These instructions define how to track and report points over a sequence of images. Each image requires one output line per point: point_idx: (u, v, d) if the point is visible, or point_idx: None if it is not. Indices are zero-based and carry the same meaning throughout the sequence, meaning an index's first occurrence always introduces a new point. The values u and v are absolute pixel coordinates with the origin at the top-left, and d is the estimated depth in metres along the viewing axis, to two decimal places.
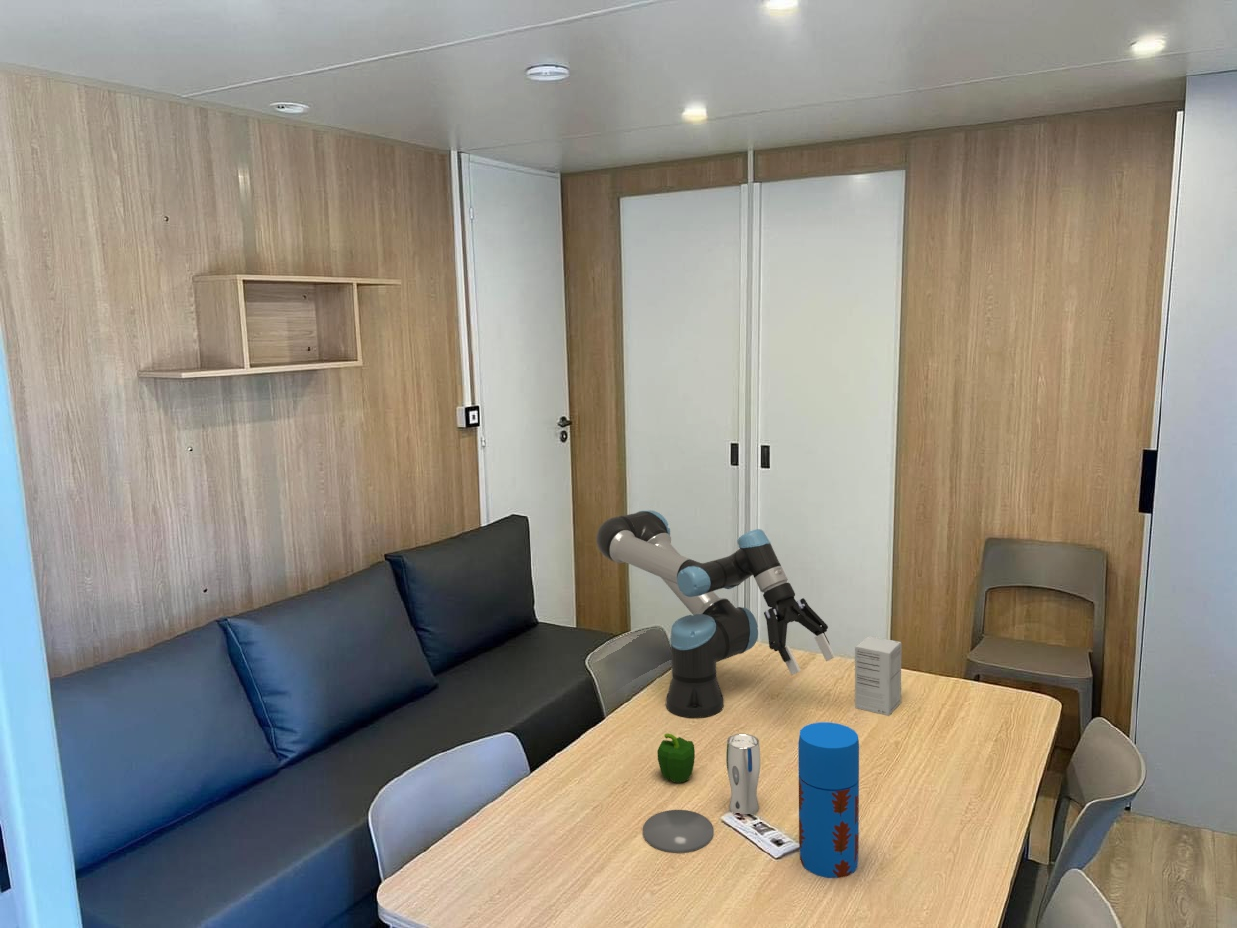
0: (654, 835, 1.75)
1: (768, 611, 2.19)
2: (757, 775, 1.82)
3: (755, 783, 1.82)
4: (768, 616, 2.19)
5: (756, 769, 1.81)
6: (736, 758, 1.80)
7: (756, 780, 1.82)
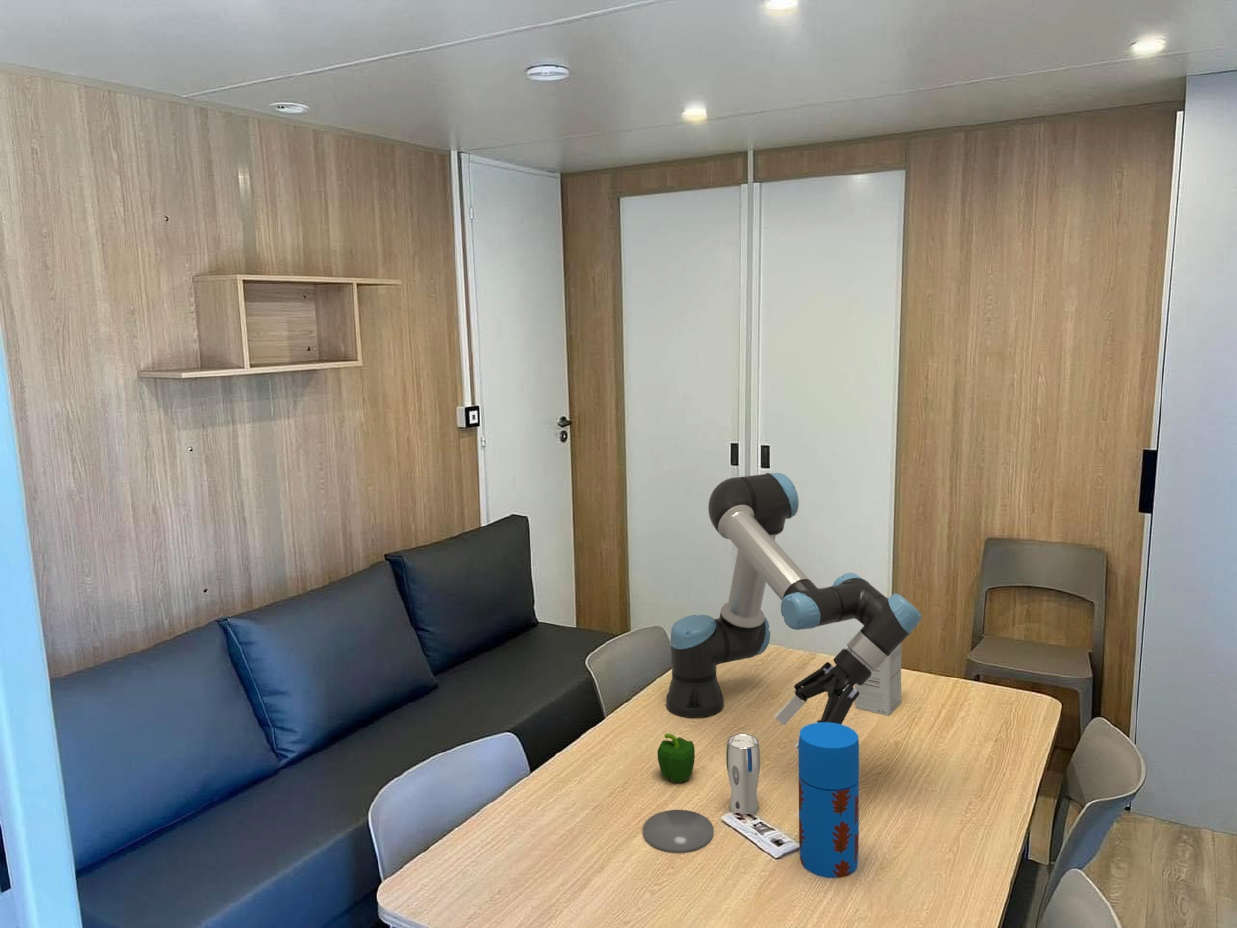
0: (654, 835, 1.75)
1: (856, 693, 1.76)
2: (757, 775, 1.82)
3: (755, 783, 1.82)
4: (850, 695, 1.76)
5: (756, 769, 1.81)
6: (736, 758, 1.80)
7: (756, 780, 1.82)
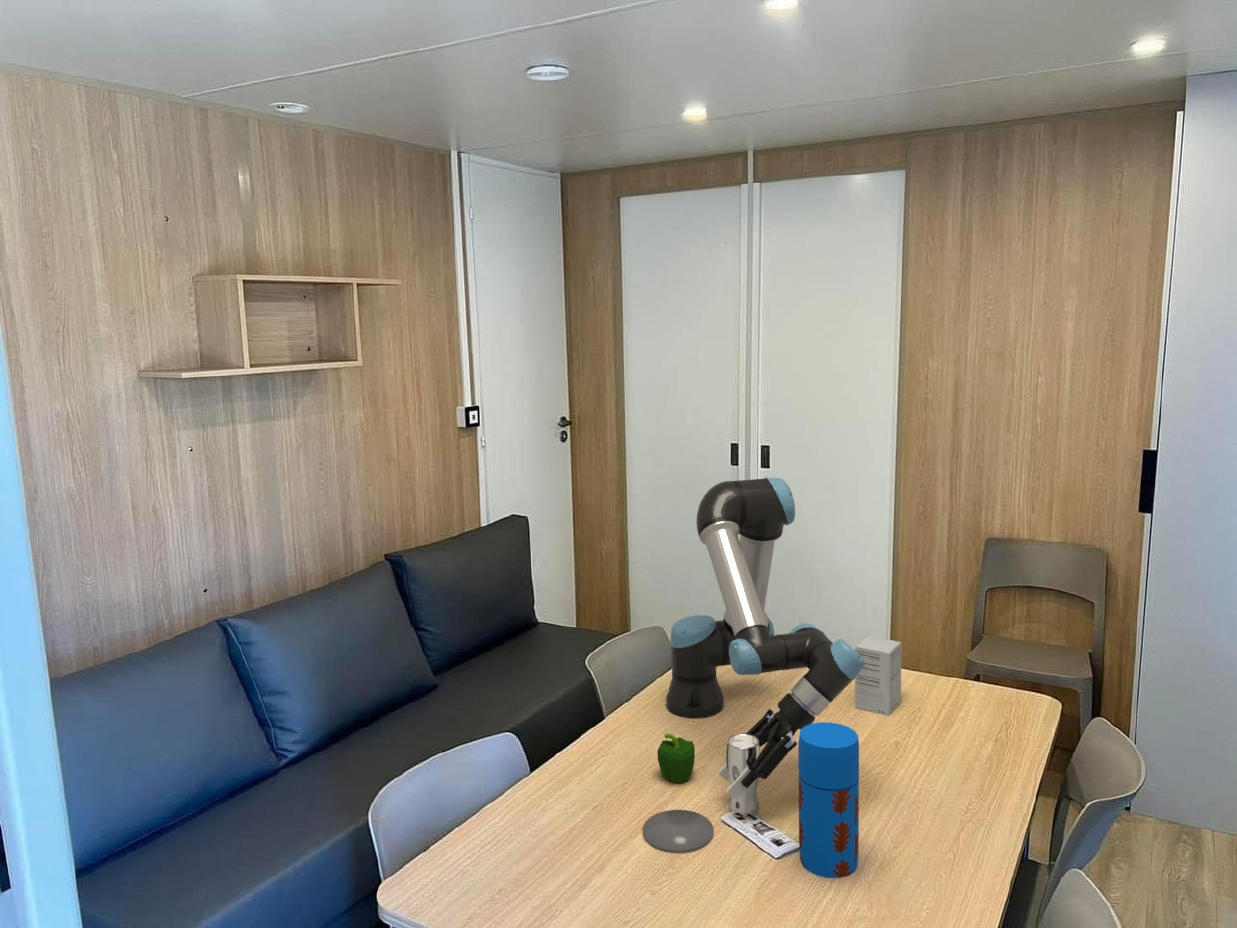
0: (654, 835, 1.75)
1: (792, 744, 1.77)
2: None
3: (755, 783, 1.82)
4: (786, 745, 1.77)
5: None
6: (736, 758, 1.80)
7: (756, 780, 1.82)
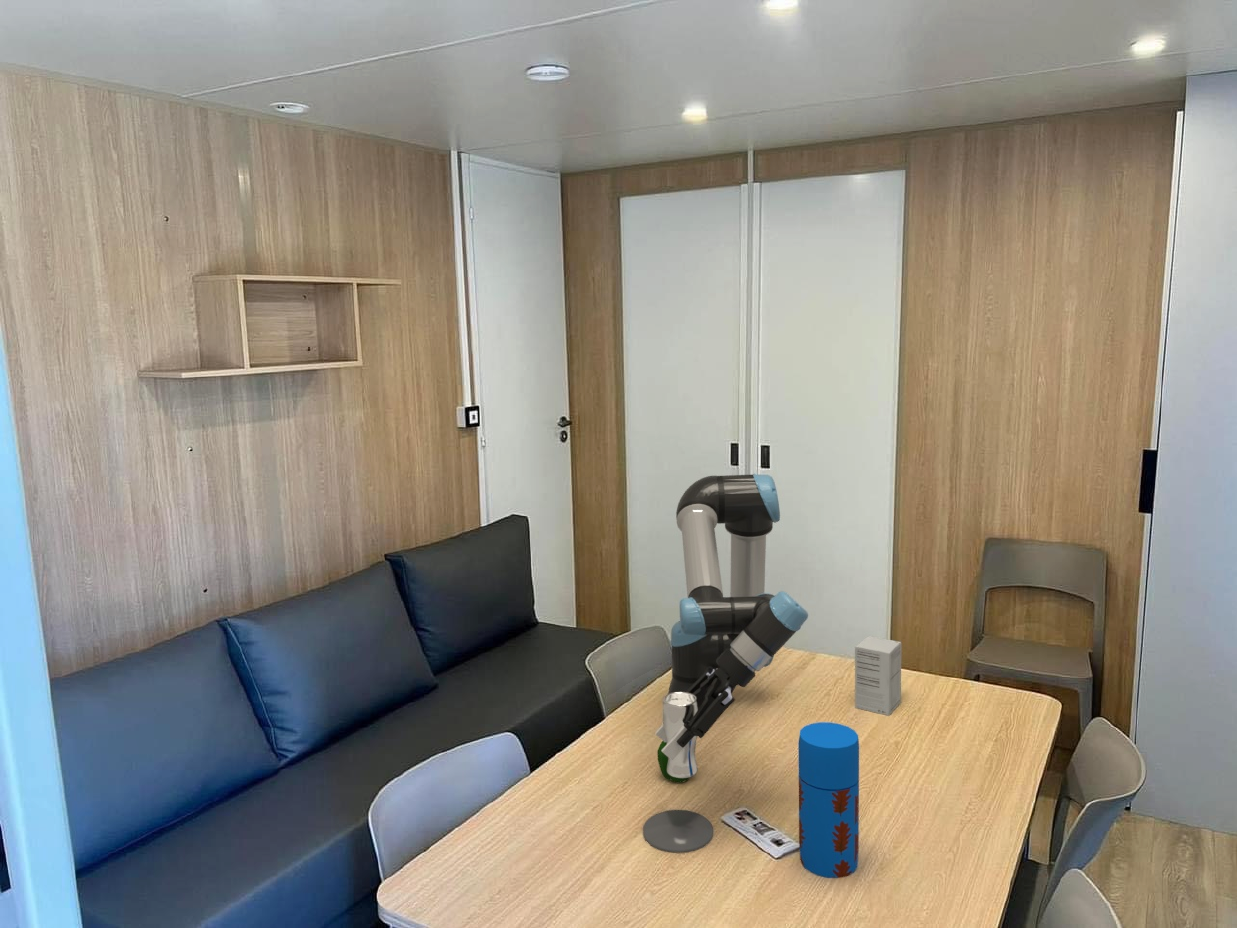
0: (654, 835, 1.75)
1: (730, 700, 1.67)
2: None
3: (693, 743, 1.72)
4: (724, 702, 1.67)
5: None
6: (672, 716, 1.71)
7: (694, 740, 1.72)
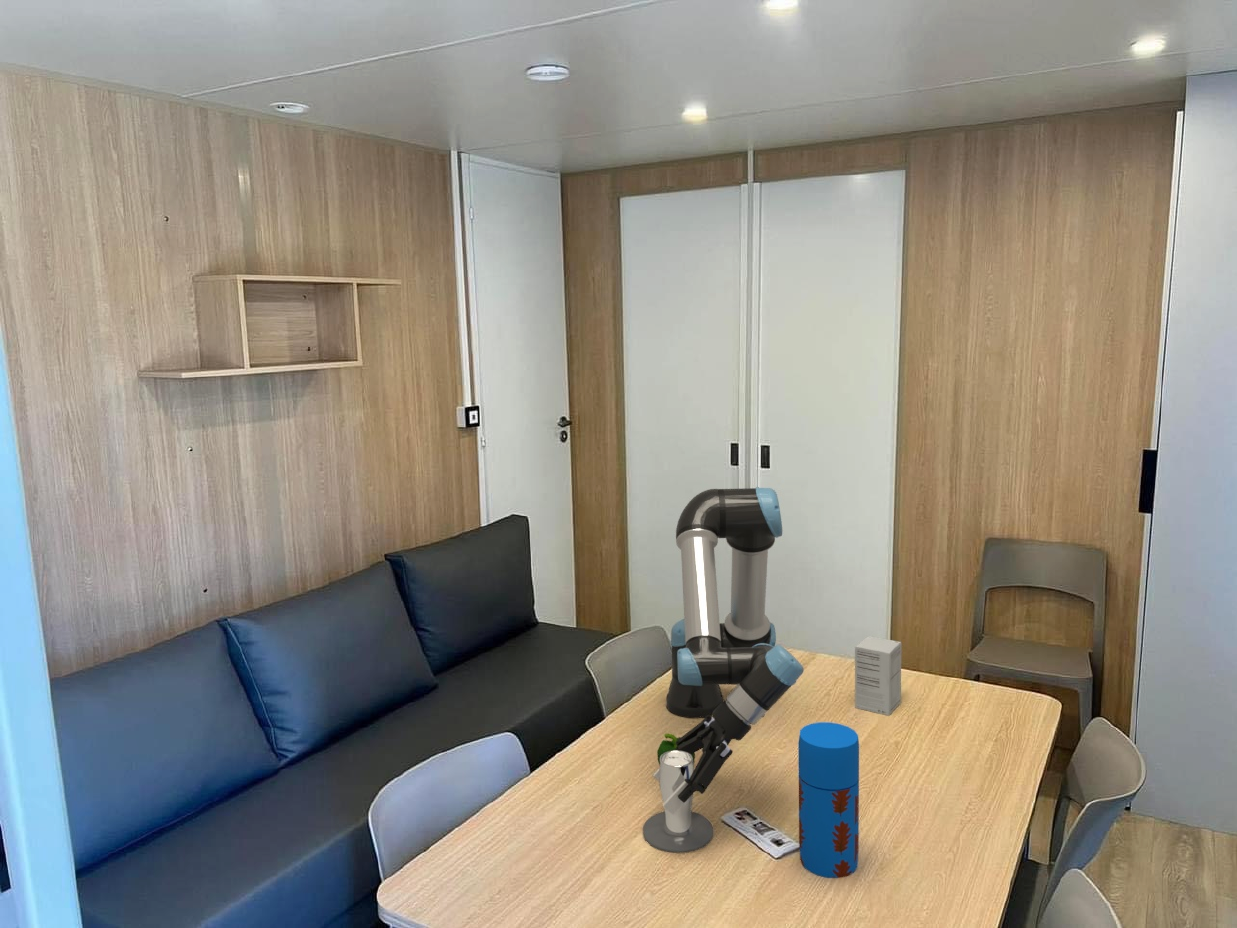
0: (654, 835, 1.75)
1: (728, 752, 1.69)
2: None
3: (689, 802, 1.74)
4: (722, 754, 1.69)
5: None
6: (669, 777, 1.72)
7: (690, 799, 1.74)
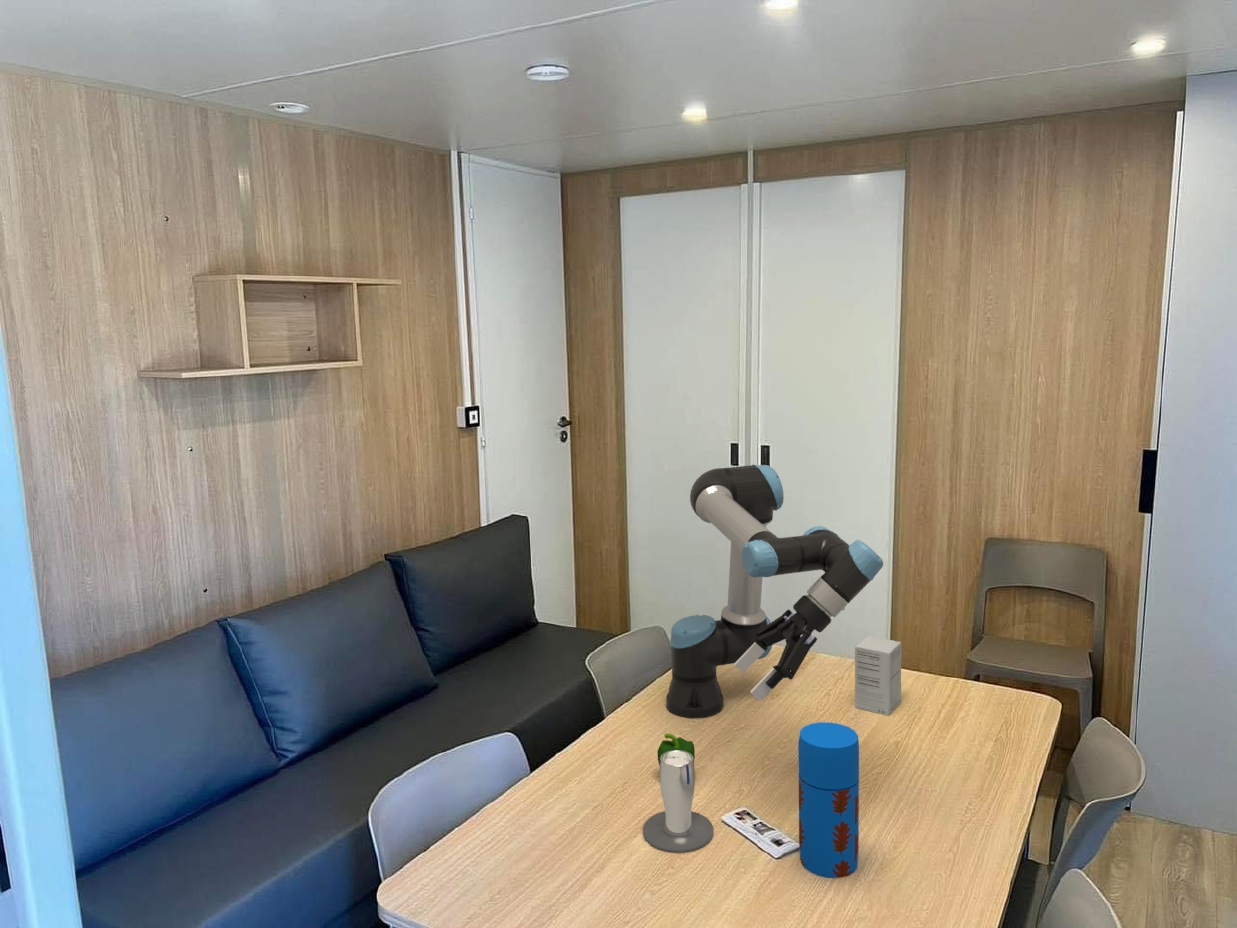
0: (654, 835, 1.75)
1: (813, 638, 1.73)
2: (691, 794, 1.74)
3: (689, 802, 1.74)
4: (808, 641, 1.73)
5: (690, 788, 1.73)
6: (669, 776, 1.73)
7: (690, 799, 1.74)
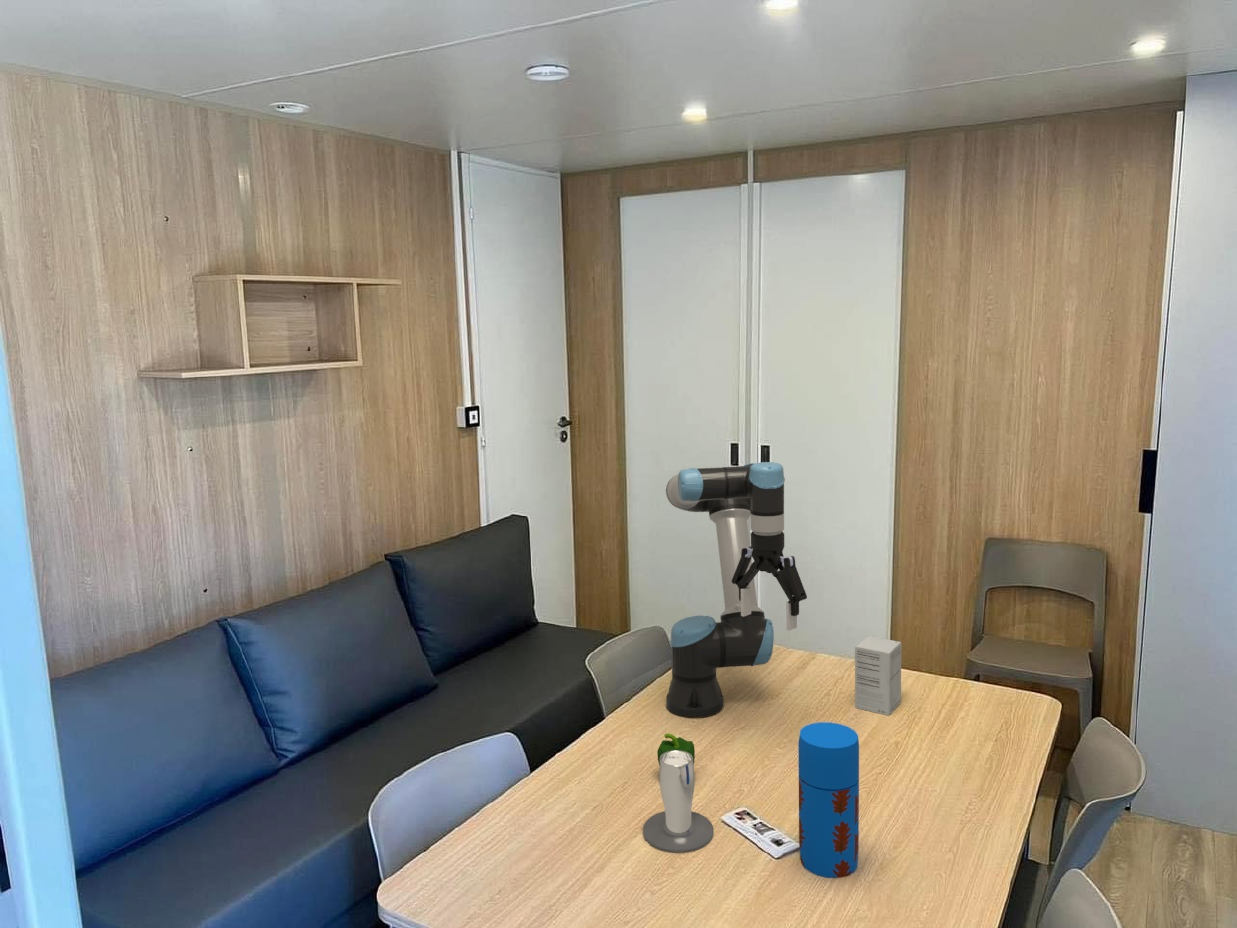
0: (654, 835, 1.75)
1: (792, 559, 1.97)
2: (691, 794, 1.74)
3: (689, 802, 1.74)
4: (791, 564, 1.97)
5: (689, 788, 1.73)
6: (669, 776, 1.73)
7: (690, 799, 1.74)
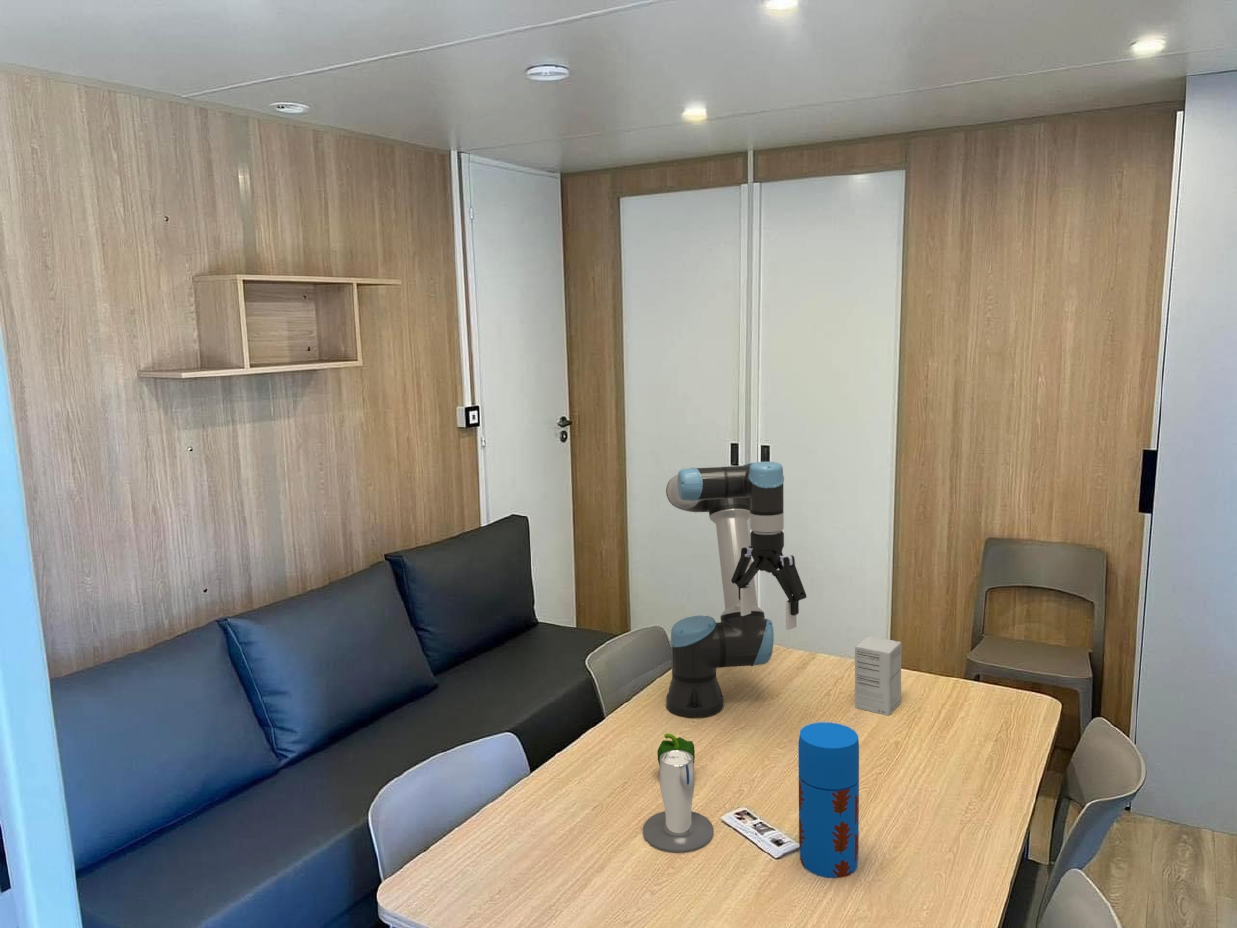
0: (654, 835, 1.75)
1: (792, 558, 1.97)
2: (691, 794, 1.74)
3: (689, 802, 1.74)
4: (791, 563, 1.97)
5: (689, 787, 1.73)
6: (669, 776, 1.73)
7: (690, 799, 1.74)
